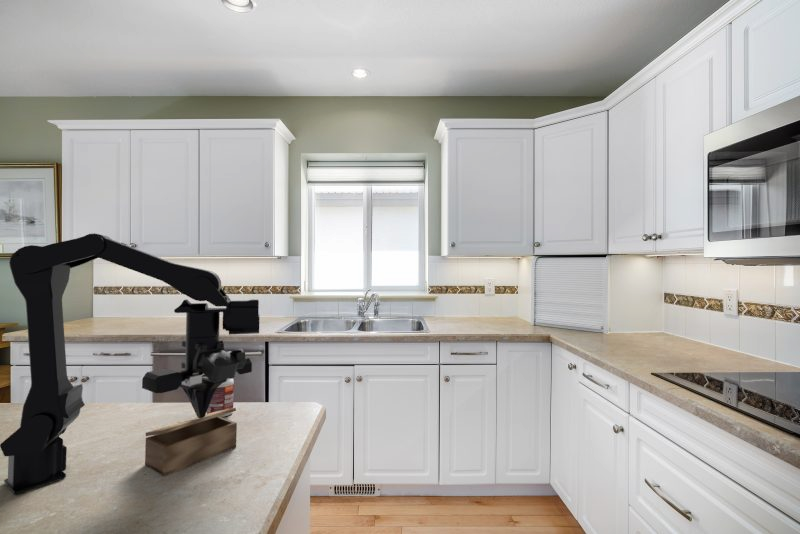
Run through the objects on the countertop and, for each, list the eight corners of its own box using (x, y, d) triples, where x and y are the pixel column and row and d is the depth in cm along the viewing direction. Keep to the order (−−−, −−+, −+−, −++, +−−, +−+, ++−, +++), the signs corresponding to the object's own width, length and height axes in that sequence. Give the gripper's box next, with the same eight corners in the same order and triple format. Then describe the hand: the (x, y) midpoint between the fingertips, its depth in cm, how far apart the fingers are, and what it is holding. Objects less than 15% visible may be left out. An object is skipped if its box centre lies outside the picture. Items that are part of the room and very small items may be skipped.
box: (164, 476, 68) (165, 447, 68) (144, 465, 72) (145, 437, 72) (236, 447, 80) (236, 422, 80) (216, 438, 84) (216, 415, 84)
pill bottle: (229, 418, 96) (230, 371, 96) (202, 419, 95) (203, 372, 95) (236, 409, 102) (237, 365, 102) (211, 410, 101) (212, 366, 101)
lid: (164, 433, 69) (163, 429, 69) (145, 436, 72) (145, 432, 72) (236, 410, 80) (235, 407, 80) (216, 414, 84) (216, 410, 84)
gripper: (174, 347, 63) (172, 445, 63) (270, 333, 78) (268, 412, 78) (141, 340, 69) (139, 429, 69) (236, 328, 85) (235, 401, 84)
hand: (201, 417), depth 75 cm, fingers closed, pressing on lid
